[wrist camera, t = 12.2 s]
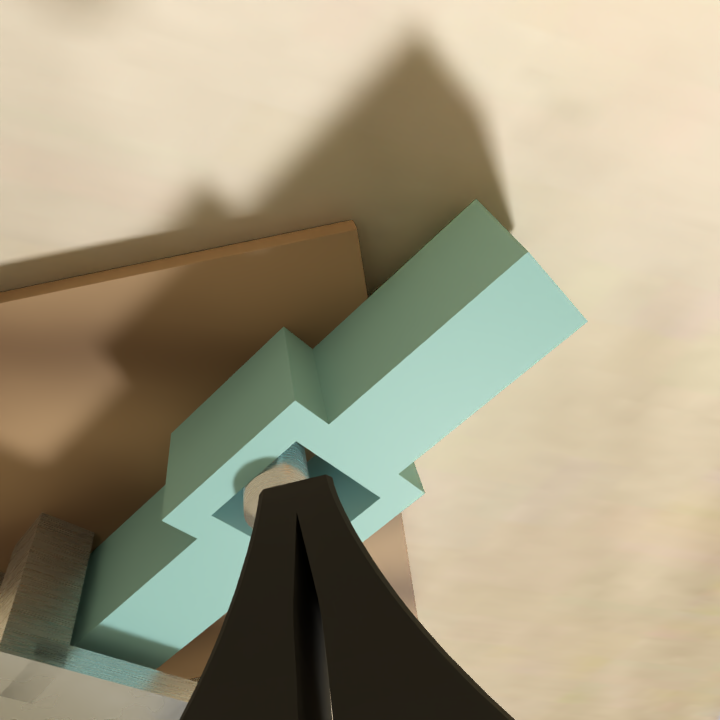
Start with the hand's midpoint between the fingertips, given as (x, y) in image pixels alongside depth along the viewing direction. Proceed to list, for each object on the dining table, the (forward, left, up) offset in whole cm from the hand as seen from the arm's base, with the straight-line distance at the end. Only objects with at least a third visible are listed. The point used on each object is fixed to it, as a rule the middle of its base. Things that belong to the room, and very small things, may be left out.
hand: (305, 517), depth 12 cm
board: (-8, +6, -10) cm, 14 cm away
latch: (-6, +2, -9) cm, 11 cm away
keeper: (-11, +9, -9) cm, 17 cm away
